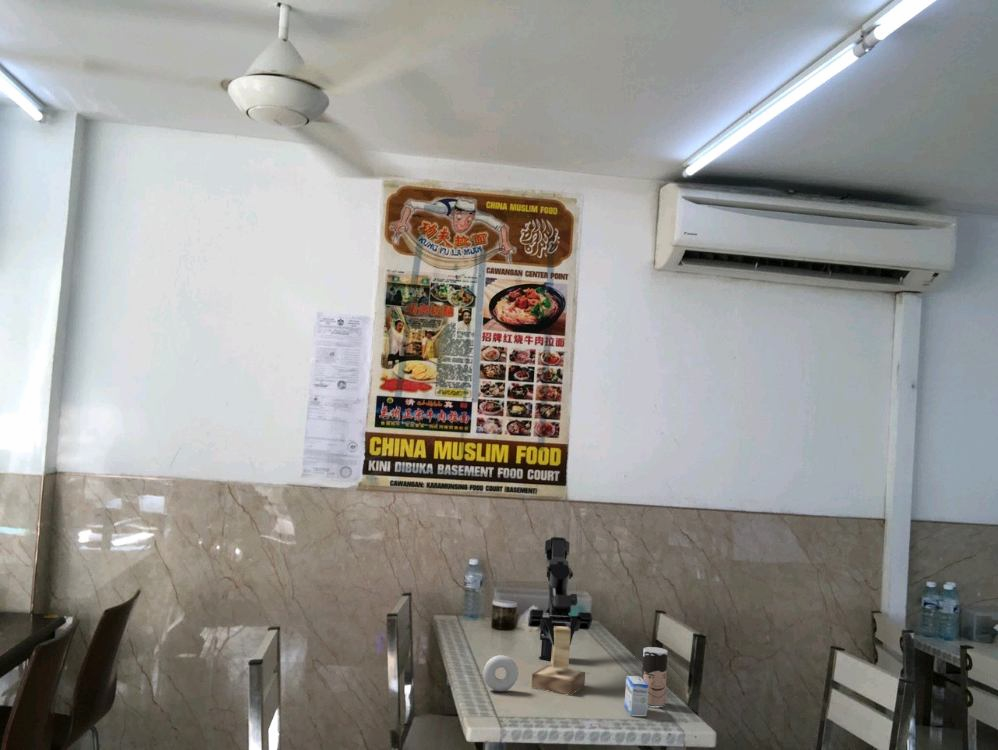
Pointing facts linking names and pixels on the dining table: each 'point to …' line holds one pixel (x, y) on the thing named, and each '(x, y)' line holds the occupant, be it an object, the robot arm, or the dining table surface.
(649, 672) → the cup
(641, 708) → the medicine box
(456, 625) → the dining table surface
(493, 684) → the donut
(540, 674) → the plinth
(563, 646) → the oak block
